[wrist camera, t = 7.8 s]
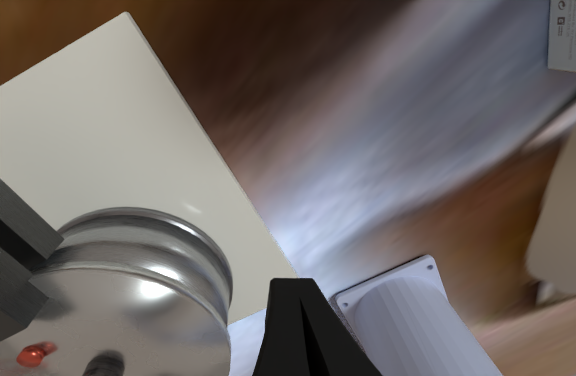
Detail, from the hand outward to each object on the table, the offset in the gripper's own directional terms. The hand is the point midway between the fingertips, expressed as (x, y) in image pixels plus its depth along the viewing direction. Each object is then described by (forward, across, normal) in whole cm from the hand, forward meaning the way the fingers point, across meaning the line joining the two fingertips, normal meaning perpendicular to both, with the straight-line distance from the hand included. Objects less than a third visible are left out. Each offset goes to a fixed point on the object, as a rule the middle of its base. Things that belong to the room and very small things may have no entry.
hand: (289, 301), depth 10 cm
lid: (+5, +9, +7) cm, 13 cm away
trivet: (+10, +9, +5) cm, 15 cm away
